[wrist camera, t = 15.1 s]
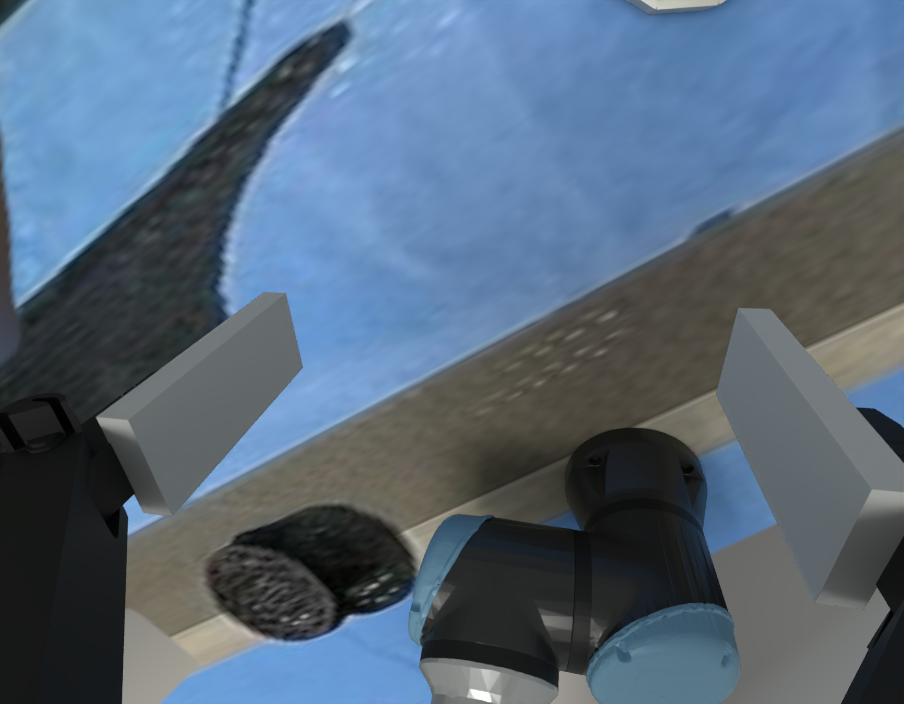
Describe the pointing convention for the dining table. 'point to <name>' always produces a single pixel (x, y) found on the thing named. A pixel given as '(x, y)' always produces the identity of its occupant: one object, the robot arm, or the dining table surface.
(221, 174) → the dining table surface
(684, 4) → the bowl
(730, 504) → the dining table surface
